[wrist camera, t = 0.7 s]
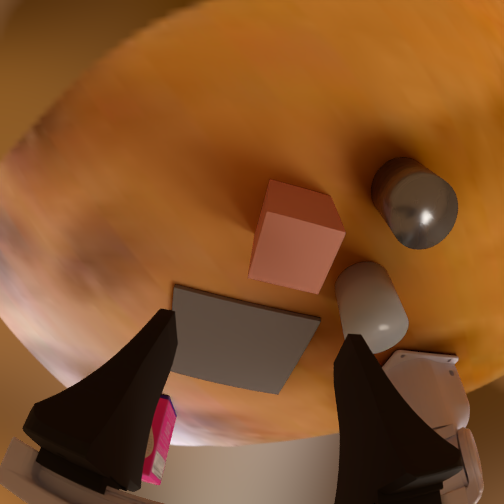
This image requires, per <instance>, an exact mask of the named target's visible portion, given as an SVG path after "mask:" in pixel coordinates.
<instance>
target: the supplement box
mask: <svg viewBox="0 0 504 504" xmlns="http://www.w3.org/2000/svg"><path fill="white" fill-rule="evenodd" d="M176 416H177V415H176V413H175V410H174V407H173V405H172V402H171V399H170V396H166V395H161V396H160V399H159V402H158V404H157V407H156V410H155V413H154V417H153V421H152V426H151V430H150V434H149V439H148V444H147V449H146V454H145V460H144V466H143V473H142V480H141V481H144V482H148V483H152V484H156V485H160V483H161V480H162V475H163V471H164V466H165V462H166V457H167V453H168V449H169V445H170V441H171V437H172V432H173V428H174V424H175V420H176Z"/></svg>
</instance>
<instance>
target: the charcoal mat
mask: <svg viewBox="0 0 504 504" xmlns="http://www.w3.org/2000/svg"><path fill="white" fill-rule="evenodd" d="M172 311H175V316H176V328H177V338H178V345H177V349H176V353H175V357H174V361H173V365H172V367H171V370H170V371H172V372H175V373H179V374H183V375H186V376H190V377H194V378H198V379H202V380H206V381H211V382H215V383H219V384H224V385H229V386H233V387H238V388H243V389H249V390H254V391H260V392H265V393H271V394H279V392H280V390H281V389H282V387H283V386H284V384H285V382H286V381H287V379H288V378H289V376H290V374H291V373H292V371H293V369H294V368H295V366H296V364H297V363H298V361H299V359H300V357H301V356H302V354H303V352H304V351H305V349H306V347H307V345H308V344H309V342H310V340H311V338H312V336H313V335H314V333H315V331H316V329H317V327H318V326H319V324H320V322H321V319H320V318H318V317H313V316H308V315H303V314H299V313H294V312H289V311H285V310H280V309H275V308H271V307H266V306H262V305H258V304H253V303H249V302H245V301H240V300H236V299H232V298H228V297H224V296H220V295H216V294H212V293H208V292H204V291H200V290H196V289H192V288H188V287H184V286H180V285H177V284H175V286H174V292H173V304H172Z"/></svg>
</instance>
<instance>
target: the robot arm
mask: <svg viewBox="0 0 504 504" xmlns="http://www.w3.org/2000/svg"><path fill="white" fill-rule="evenodd" d="M177 345H178V338H177V328H176V316H175V311H172V310H166V309H160V310H159V311H158V312H157V313H156V314H155V315H154V316H153V317H152V319H151V320H150V321H149V322H148V323H147V324H146V325H145V326H144V327H143V328H142V329H141V330H140V332H139V333H138V334H137V335H136V336H135V337H134V338H133V339H132V340H131V341H130V342H129V343H128V344H127V345H126V346H124V347H123V348H122V349H121V350H120V351H119V352H118V353H117V354H116V355H115V356H113V357H112V358H111V359H110V360H109V361H108V362H106V363H105V364H104V365H102V366H101V367H100V368H99V369H97V370H96V371H94V372H93V373H92V374H90V375H89V376H87V377H86V378H84V379H83V380H81V381H80V382H78V383H76V384H75V385H73V386H71V387H69V388H67V389H66V390H64V391H62V392H60V393H58V394H56V395H54V396H52V397H50V398H47V399H45V400H43V401H40V402H38V403H35V404H34V406H33V408H32V409H31V411H30V413H29V415H28V417H27V419H26V422H25V424H24V426H23V431H24V432H25V433H26V434H27V435H28V436H29V437H30V438H31V439H32V440H33V441H34V442H36V443H37V444H38V445H39V446H40V447H41V449H40V451H39V452H38V451H37V450H35V449H34V448H32V447H30V446H29V445H27V444H25V443H24V442H22V441H20V440H19V439H17V438H16V437H13V438H12V440H11V443H10V445H9V447H8V449H7V452H6V454H5V456H4V459H3V461H2V463H1V466H0V484H1V485H2V486H4V487H5V488H7V489H8V490H9V491H11V492H12V493H13V494H15V495H16V496H18V497H19V498H20V499H22V500H23V501H25V502H26V503H28V504H163V503H159V502H156V501H152V500H148V499H145V498H141V497H138V496H135V495H132V494H129V493H126V492H123V491H120V490H119V489H122V490H125V491H127V490H129V491H132V492H135V491H137V490H139V489H140V488H141V480H142V473H143V466H144V460H145V454H146V449H147V444H148V439H149V434H150V430H151V426H152V421H153V417H154V413H155V410H156V407H157V404H158V402H159V399H160V396H161V394H162V391H163V388H164V386H165V383H166V381H167V378H168V375H169V373H170V370H171V367H172V365H173V361H174V357H175V353H176V349H177ZM457 361H458V356H453V355H442V354H432V353H423V352H414V351H406V350H397V351H395V352H394V353H393V355H392V356H391V357H390V358H389V360H388V361H387V362H386V363H385V364H384V366H383V367H381V366H380V364H379V363H378V361H377V359H376V358H375V356H374V354H373V353H372V351H371V350H370V348H369V346H368V345H367V343H366V341H365V340H364V338H363V337H362V335H361V334H348V335H347V337H346V339H345V341H344V343H343V345H342V347H341V349H340V351H339V353H338V355H337V357H336V359H335V361H334V389H335V397H336V404H337V412H338V420H339V430H340V456H339V473H338V482H337V490H336V497H335V503H334V504H476V503H477V502H478V501H479V499H480V498H481V496H482V491H483V489H484V483H483V478H482V468H481V463H480V459H479V455H478V450H477V447H476V444H475V441H474V438H473V435H472V433H471V431H470V430H469V429H467V428H466V429H465V427H466V425H467V423H468V420H469V413H470V406H469V402H468V399H467V396H466V393H465V390H464V388H463V385H462V382H461V380H460V377H459V375H458V372H457V370H456V367H455V365H454V364H455V363H456V362H457ZM466 487H467V488H466Z"/></svg>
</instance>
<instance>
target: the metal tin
mask: <svg viewBox="0 0 504 504" xmlns="http://www.w3.org/2000/svg"><path fill="white" fill-rule="evenodd" d="M371 195H372V200H373V203H374V205H375V207H376V208H377V210H378V211H379V213H380V214H381V215H382V217H383V218H384V220H385V221H386V223H387V224H388V226H389V227H390V229H391V230H392V232H393V233H394V235H395V237H396V238H397V239H398V241H399V242H400V243H402V244H403V245H404V246H406V247H408V248H412V249H426V248H430V247H432V246H434V245H436V244H438V243H439V242H441V241H442V240H443V239H444V238H445V237H446V236H447V235H448V234H449V232H450V231H451V229H452V228H453V226H454V224H455V221H456V218H457V213H458V202H457V197H456V194H455V192H454V190H453V189H452V187H451V186H450V185H449V184H448V183H447V182H446V181H444V180H443V179H442V178H440V177H439V176H438V175H436V174H435V173H433V172H432V171H430V170H429V169H428V168H426V167H425V166H423V165H422V164H420V163H419V162H417V161H415V160H414V159H411V158H406V157H400V158H395V159H392V160H390V161H388V162H386V163H385V164H384V165H383V166H382V167H381V168H380V169H379V170H378V171H377V173H376V175H375V177H374V179H373V182H372V187H371Z"/></svg>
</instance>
